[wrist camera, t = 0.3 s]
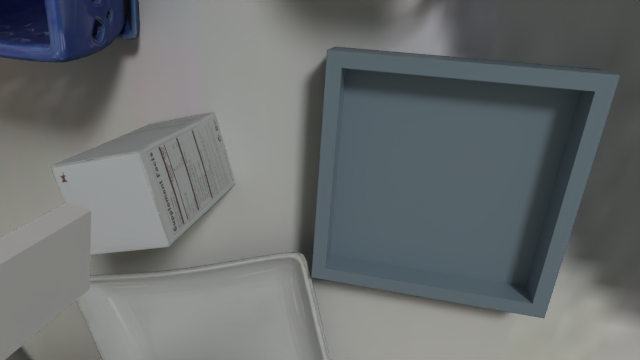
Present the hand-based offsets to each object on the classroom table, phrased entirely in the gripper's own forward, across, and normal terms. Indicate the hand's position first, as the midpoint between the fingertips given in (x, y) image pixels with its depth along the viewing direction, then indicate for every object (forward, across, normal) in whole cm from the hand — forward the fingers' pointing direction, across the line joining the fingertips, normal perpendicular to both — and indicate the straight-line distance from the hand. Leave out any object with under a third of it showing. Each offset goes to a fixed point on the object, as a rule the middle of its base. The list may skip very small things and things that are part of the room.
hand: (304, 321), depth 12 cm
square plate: (+28, -9, -32) cm, 43 cm away
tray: (+27, +6, -4) cm, 28 cm away
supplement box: (+28, -16, -8) cm, 33 cm away
